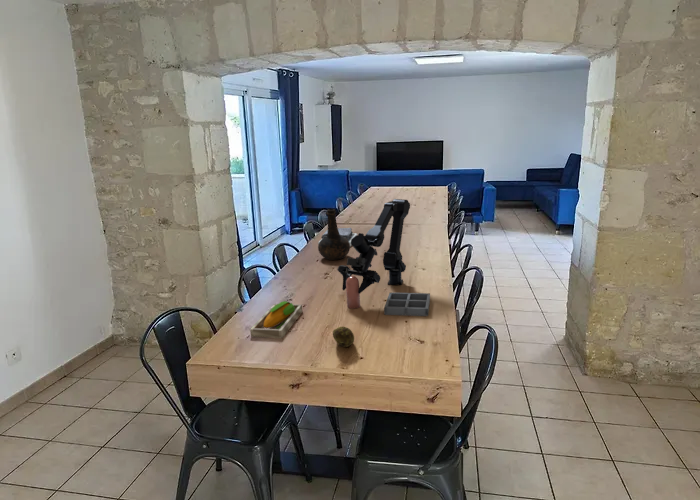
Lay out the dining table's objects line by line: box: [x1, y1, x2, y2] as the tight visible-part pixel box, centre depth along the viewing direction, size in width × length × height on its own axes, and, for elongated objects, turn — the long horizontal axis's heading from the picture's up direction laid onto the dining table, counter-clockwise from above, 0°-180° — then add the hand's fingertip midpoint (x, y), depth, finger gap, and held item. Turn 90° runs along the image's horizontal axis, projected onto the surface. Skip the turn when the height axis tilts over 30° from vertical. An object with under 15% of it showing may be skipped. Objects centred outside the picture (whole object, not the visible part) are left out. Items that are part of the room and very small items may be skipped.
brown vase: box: [317, 208, 351, 261], centre depth 269 cm, size 18×18×28 cm
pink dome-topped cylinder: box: [345, 275, 361, 310], centre depth 199 cm, size 5×5×13 cm
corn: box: [263, 300, 295, 329], centre depth 186 cm, size 7×8×20 cm
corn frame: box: [249, 303, 303, 339], centre depth 187 cm, size 25×12×3 cm, turn 168°
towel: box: [321, 227, 353, 241], centre depth 305 cm, size 15×18×8 cm
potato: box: [332, 326, 355, 348], centre depth 165 cm, size 8×13×8 cm, turn 168°
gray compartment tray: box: [383, 292, 431, 317], centre depth 197 cm, size 17×17×3 cm
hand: (350, 291), depth 198 cm, fingers open, 8 cm apart
